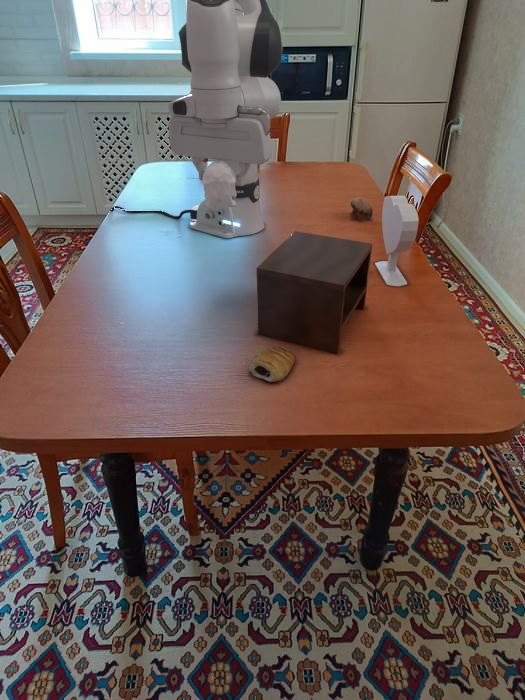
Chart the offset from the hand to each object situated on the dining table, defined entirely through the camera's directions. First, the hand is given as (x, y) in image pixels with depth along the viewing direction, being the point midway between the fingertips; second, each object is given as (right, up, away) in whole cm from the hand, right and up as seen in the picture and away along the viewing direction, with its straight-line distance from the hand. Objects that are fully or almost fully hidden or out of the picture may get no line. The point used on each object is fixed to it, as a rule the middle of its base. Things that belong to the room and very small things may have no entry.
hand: (222, 182), depth 95 cm
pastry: (+10, -37, -5) cm, 38 cm away
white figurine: (0, -3, +2) cm, 4 cm away
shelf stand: (+19, -26, +9) cm, 34 cm away
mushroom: (+38, +8, +56) cm, 68 cm away
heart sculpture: (+40, -14, +26) cm, 49 cm away
